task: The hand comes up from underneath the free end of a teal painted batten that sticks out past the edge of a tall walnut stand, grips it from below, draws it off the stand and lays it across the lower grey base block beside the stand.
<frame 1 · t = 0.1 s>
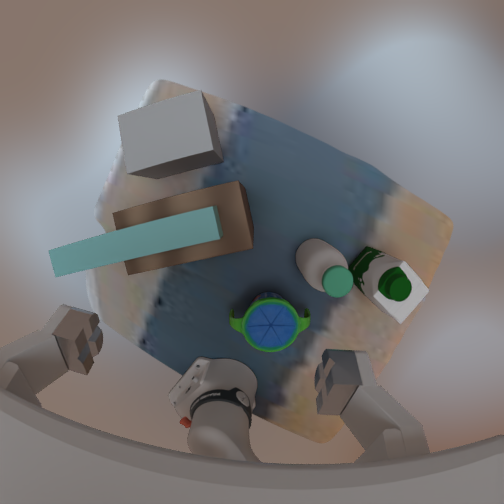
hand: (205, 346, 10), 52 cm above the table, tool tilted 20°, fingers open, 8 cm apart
batten: (133, 240, 36), point 26 cm above the table, touching walnut stand
walnut stand: (210, 216, 61), on the table
milk carton: (366, 269, 63), on the table
snack cup: (268, 307, 65), on the table
base block: (185, 146, 59), on the table
milk bottle: (313, 256, 63), on the table
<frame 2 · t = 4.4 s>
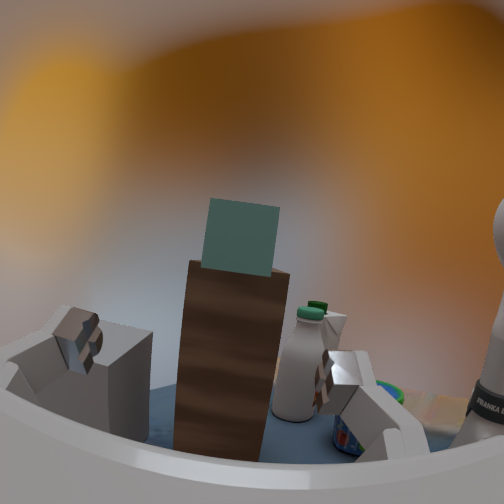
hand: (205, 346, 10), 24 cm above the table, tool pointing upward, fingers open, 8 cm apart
batten: (240, 266, 26), point 26 cm above the table, touching walnut stand
walnut stand: (215, 467, 32), on the table
milk carton: (308, 392, 62), on the table
snack cup: (354, 445, 40), on the table
base block: (98, 449, 30), on the table
milk bottle: (291, 414, 51), on the table
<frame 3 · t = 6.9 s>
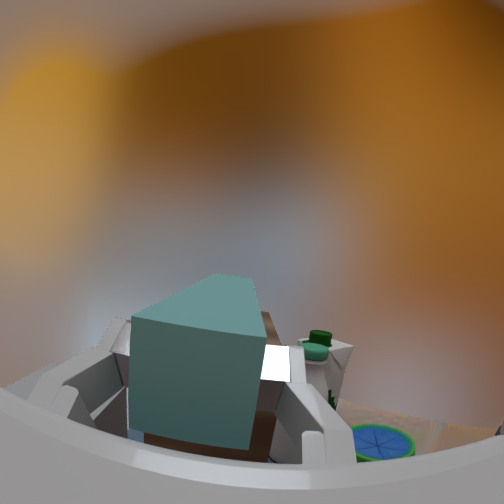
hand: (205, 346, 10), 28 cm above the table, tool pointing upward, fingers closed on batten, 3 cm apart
batten: (218, 342, 18), point 26 cm above the table, touching gripper
milk carton: (308, 426, 54), on the table
snack cup: (357, 494, 32), on the table
base block: (76, 503, 22), on the table
milk bottle: (290, 455, 43), on the table
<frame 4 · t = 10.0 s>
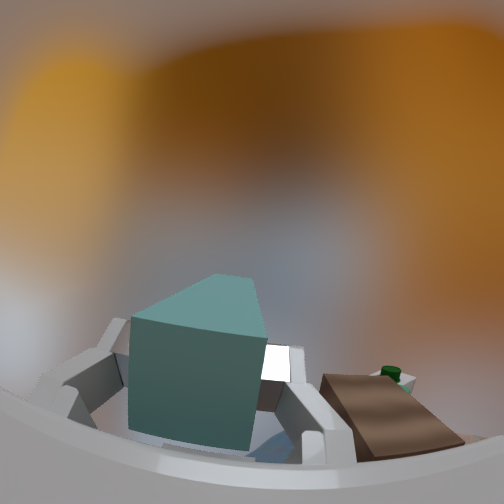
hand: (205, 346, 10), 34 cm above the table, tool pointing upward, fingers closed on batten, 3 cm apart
batten: (219, 343, 18), point 32 cm above the table, touching gripper
milk carton: (370, 450, 52), on the table
when the fingers open (21 cm above the table, at t = 13.3 s): batten drops 3 cm, resting on base block.
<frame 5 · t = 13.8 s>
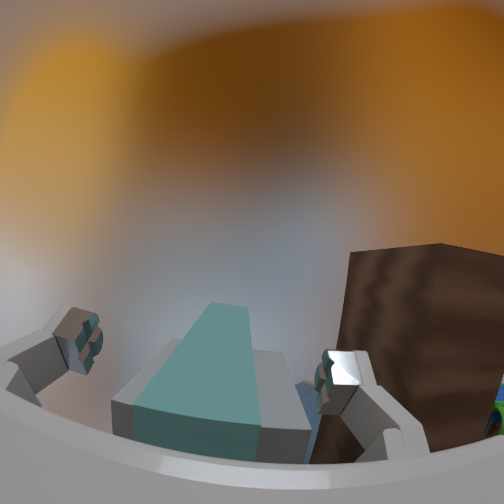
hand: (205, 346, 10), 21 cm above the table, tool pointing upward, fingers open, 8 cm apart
batten: (215, 382, 18), point 16 cm above the table, touching base block
snack cup: (465, 450, 29), on the table
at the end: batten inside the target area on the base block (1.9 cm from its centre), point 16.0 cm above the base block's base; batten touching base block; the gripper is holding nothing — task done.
